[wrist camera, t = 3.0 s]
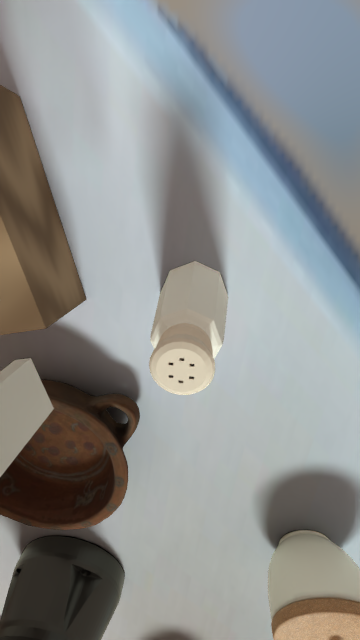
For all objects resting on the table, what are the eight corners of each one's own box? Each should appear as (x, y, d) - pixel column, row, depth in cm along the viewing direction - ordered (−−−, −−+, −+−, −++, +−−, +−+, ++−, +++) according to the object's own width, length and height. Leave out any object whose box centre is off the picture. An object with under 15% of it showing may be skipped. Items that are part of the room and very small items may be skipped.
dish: (187, 454, 28) (183, 501, 23) (39, 505, 34) (13, 551, 29) (88, 321, 23) (58, 348, 19) (-64, 408, 29) (-115, 445, 24)
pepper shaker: (160, 259, 20) (112, 306, 10) (231, 261, 20) (256, 313, 10) (160, 323, 22) (121, 416, 12) (225, 327, 22) (240, 427, 12)
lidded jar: (355, 516, 29) (419, 645, 20) (349, 572, 33) (401, 701, 24) (255, 517, 30) (275, 637, 22) (261, 570, 34) (279, 691, 26)
